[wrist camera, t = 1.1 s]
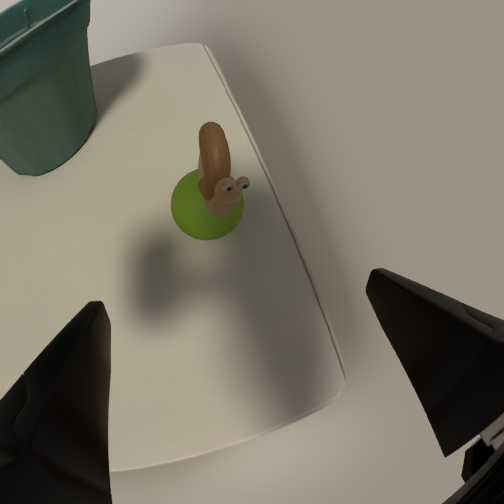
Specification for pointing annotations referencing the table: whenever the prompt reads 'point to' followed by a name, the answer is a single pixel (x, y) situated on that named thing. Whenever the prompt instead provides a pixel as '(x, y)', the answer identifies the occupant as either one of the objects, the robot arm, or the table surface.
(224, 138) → the snail figurine
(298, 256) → the table surface
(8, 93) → the flower pot
